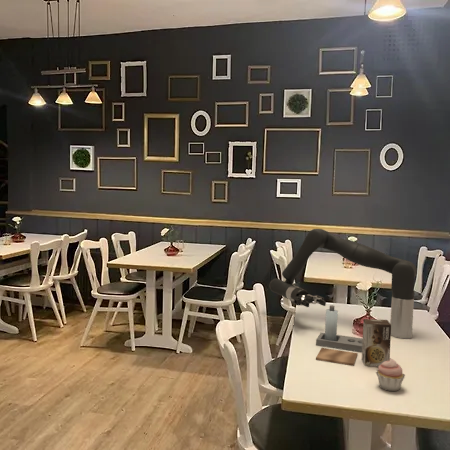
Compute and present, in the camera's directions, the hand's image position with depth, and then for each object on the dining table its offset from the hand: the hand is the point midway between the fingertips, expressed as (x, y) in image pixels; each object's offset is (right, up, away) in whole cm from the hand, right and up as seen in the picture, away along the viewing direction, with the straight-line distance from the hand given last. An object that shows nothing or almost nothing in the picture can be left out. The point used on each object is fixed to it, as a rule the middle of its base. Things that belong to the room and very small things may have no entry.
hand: (316, 304), depth 208 cm
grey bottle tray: (+9, -15, -11) cm, 21 cm away
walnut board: (+3, -16, -25) cm, 30 cm away
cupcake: (+14, -19, -51) cm, 56 cm away
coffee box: (+16, -17, -30) cm, 38 cm away
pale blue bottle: (+4, -15, -9) cm, 18 cm away
